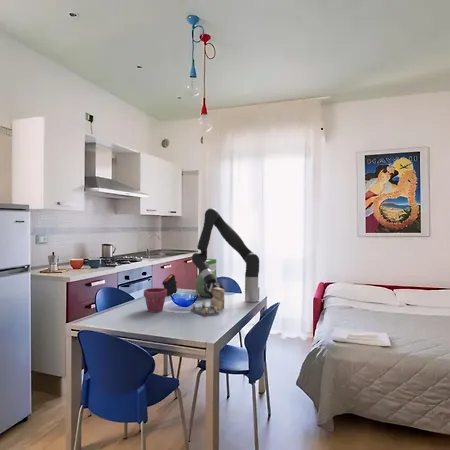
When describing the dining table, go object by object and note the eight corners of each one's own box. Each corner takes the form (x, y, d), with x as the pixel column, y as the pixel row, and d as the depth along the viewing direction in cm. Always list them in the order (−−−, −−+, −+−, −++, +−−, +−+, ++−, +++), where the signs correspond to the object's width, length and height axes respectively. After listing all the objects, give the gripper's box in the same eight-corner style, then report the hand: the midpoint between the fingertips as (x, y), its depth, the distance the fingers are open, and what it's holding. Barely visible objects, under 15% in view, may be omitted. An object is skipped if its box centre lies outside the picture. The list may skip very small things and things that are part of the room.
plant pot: (149, 307, 232) (149, 287, 232) (170, 308, 229) (170, 288, 229) (139, 312, 218) (139, 291, 218) (161, 314, 215) (161, 292, 215)
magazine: (179, 290, 277) (174, 274, 272) (169, 301, 267) (164, 284, 261) (176, 290, 279) (170, 273, 274) (165, 300, 269) (160, 283, 263)
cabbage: (190, 297, 261) (190, 270, 261) (202, 293, 278) (203, 267, 278) (209, 299, 255) (209, 271, 254) (221, 295, 272) (221, 268, 271)
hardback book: (206, 292, 282) (207, 261, 282) (198, 291, 285) (198, 260, 285) (216, 288, 299) (216, 259, 298) (207, 287, 302) (208, 258, 301)
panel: (215, 305, 239) (215, 286, 239) (224, 308, 231) (224, 289, 231) (210, 305, 237) (210, 287, 237) (219, 308, 229) (219, 289, 229)
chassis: (204, 308, 229) (204, 301, 229) (219, 314, 216) (219, 306, 216) (190, 310, 223) (190, 303, 223) (204, 316, 210) (205, 308, 210)
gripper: (201, 274, 237) (210, 295, 227) (219, 272, 245) (229, 292, 236) (197, 281, 241) (206, 301, 232) (214, 279, 249) (224, 299, 240)
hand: (217, 297), depth 234 cm, fingers open, 8 cm apart
